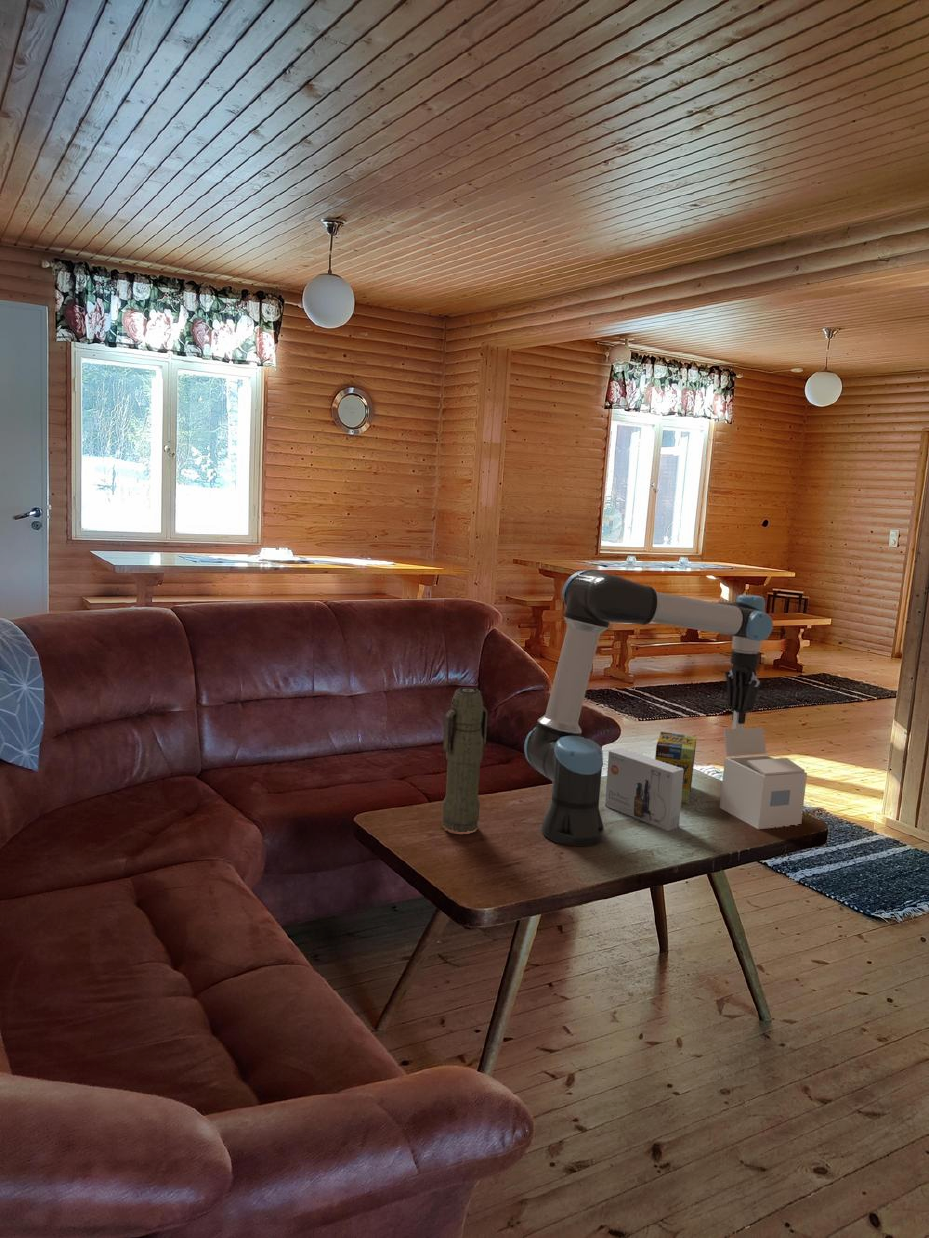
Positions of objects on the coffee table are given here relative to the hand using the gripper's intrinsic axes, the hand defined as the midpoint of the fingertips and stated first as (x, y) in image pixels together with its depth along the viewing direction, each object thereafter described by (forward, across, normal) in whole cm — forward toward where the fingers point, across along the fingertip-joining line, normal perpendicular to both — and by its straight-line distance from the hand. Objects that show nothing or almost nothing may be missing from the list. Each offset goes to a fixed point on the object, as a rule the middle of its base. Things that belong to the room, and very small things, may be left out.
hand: (737, 733), depth 250 cm
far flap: (+1, -4, 0) cm, 4 cm away
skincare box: (+20, -5, +33) cm, 39 cm away
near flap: (+4, -16, 0) cm, 17 cm away
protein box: (+20, +10, +13) cm, 25 cm away
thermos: (+20, -2, +83) cm, 85 cm away
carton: (+19, -12, 0) cm, 23 cm away
